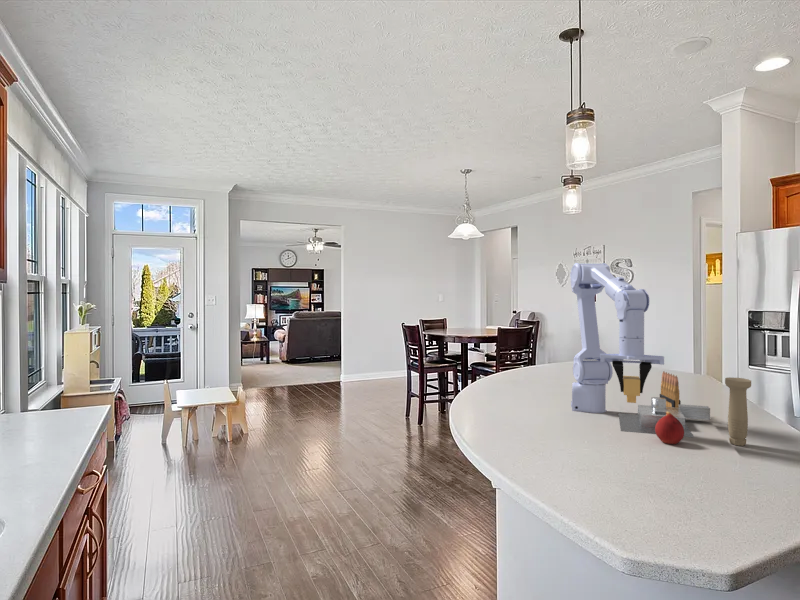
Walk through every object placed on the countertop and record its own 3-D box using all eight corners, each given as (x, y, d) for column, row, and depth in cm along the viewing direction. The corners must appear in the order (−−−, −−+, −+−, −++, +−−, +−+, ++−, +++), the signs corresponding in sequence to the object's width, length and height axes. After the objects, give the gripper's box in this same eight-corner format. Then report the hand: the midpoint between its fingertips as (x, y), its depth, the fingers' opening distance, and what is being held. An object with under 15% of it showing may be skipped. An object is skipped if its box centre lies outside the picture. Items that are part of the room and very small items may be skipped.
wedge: (623, 403, 129) (624, 378, 129) (623, 399, 135) (623, 375, 135) (639, 404, 128) (640, 379, 128) (638, 400, 133) (638, 376, 133)
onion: (681, 444, 121) (681, 410, 121) (686, 451, 116) (686, 415, 116) (653, 442, 123) (653, 408, 123) (657, 449, 118) (657, 413, 118)
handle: (745, 441, 124) (745, 378, 124) (754, 449, 118) (754, 382, 118) (722, 439, 125) (722, 377, 125) (729, 447, 119) (729, 381, 119)
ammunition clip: (680, 418, 147) (681, 376, 147) (674, 418, 147) (674, 375, 147) (665, 410, 158) (665, 370, 158) (659, 410, 158) (659, 370, 158)
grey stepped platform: (620, 435, 130) (620, 408, 130) (618, 416, 149) (618, 394, 149) (723, 444, 122) (723, 416, 122) (706, 423, 141) (707, 399, 141)
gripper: (600, 337, 130) (600, 392, 130) (665, 339, 125) (665, 396, 125) (600, 335, 137) (600, 388, 137) (662, 337, 132) (662, 391, 132)
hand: (631, 391), depth 131 cm, fingers closed on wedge, 4 cm apart
